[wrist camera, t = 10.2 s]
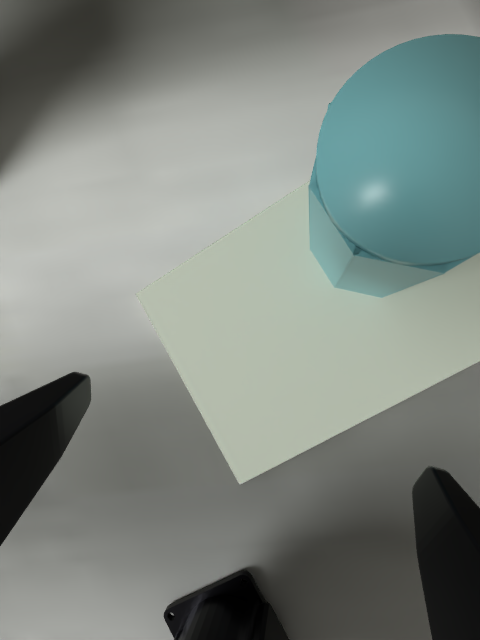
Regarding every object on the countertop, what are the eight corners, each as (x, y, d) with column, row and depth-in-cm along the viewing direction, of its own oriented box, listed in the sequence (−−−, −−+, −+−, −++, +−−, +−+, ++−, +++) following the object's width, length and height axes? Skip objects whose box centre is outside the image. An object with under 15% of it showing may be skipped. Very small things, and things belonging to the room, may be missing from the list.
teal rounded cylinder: (351, 315, 21) (392, 306, 11) (292, 223, 22) (274, 126, 11) (456, 254, 20) (620, 174, 10) (391, 159, 21) (474, -15, 10)
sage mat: (240, 481, 23) (239, 484, 23) (138, 294, 24) (135, 293, 24) (532, 331, 20) (536, 331, 20) (393, 128, 21) (395, 124, 21)
